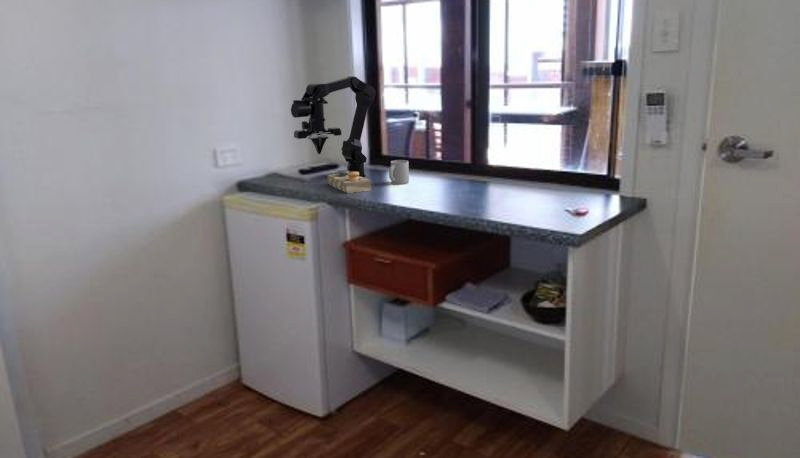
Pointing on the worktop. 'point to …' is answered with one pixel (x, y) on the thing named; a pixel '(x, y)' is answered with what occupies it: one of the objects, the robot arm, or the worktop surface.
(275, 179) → the worktop surface
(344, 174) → the grey mushroom knob
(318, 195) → the worktop surface
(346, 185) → the housing
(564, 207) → the worktop surface
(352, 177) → the mushroom knob terracotta
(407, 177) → the cup
